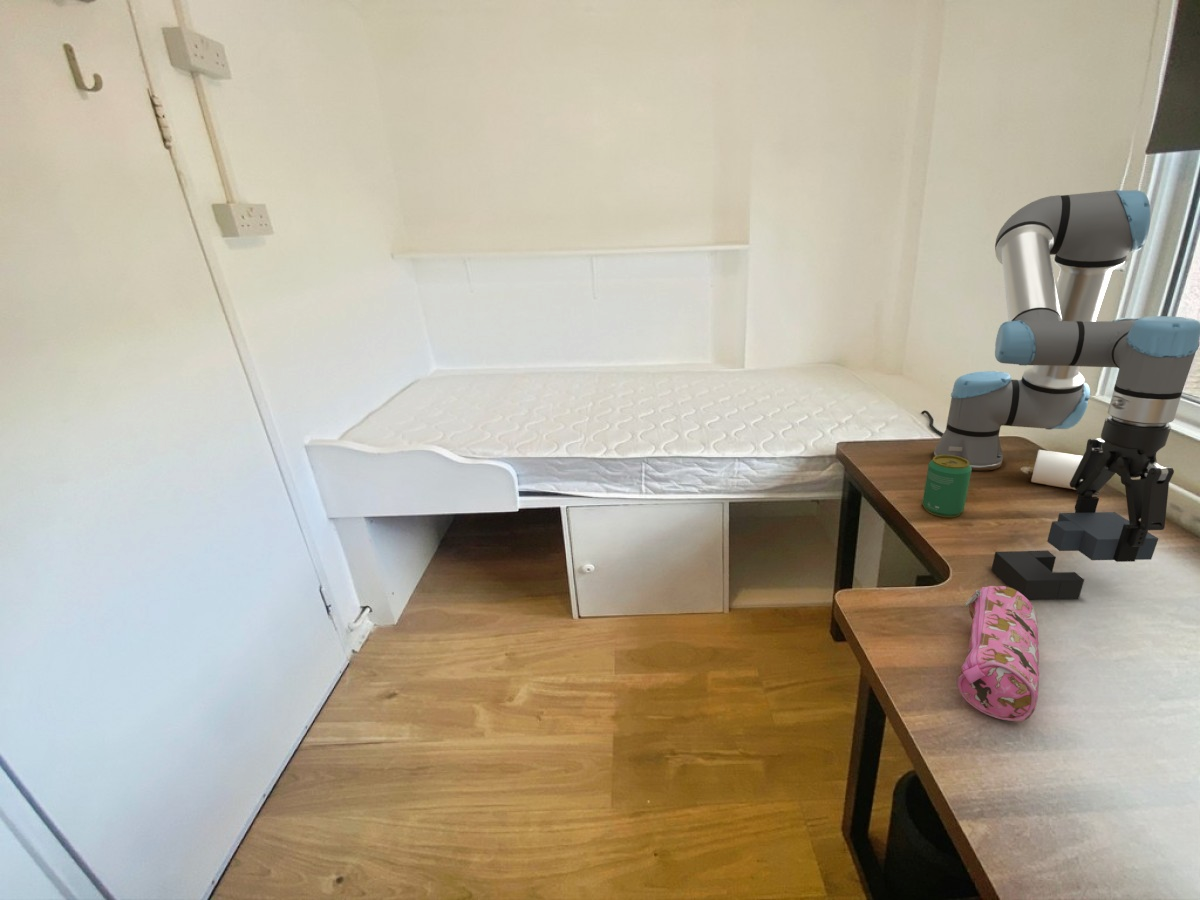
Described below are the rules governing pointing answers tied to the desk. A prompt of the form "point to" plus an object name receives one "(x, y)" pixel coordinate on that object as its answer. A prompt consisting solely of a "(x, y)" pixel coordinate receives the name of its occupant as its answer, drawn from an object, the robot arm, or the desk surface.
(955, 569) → the desk surface
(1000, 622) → the pencil case
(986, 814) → the desk surface
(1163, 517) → the robot arm
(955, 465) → the beverage can
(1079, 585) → the black u-shaped block
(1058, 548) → the grey block
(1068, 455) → the white cylinder on side
